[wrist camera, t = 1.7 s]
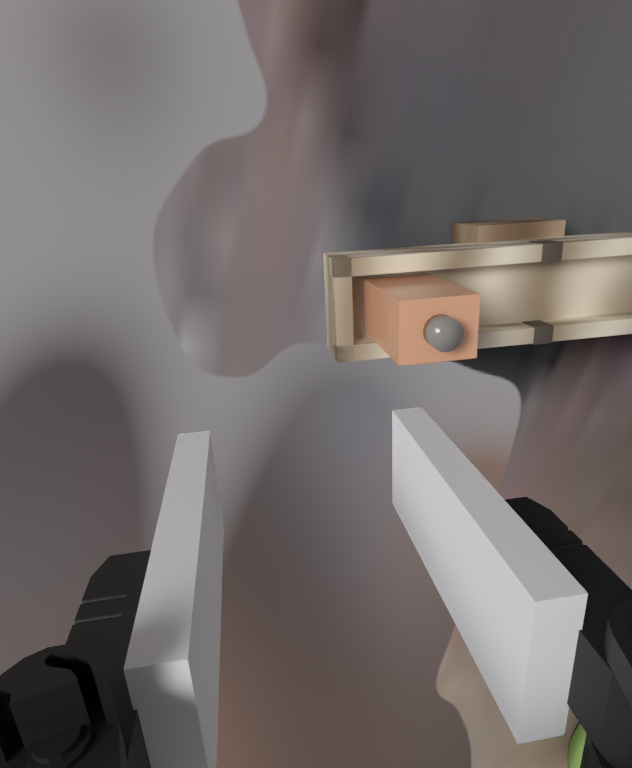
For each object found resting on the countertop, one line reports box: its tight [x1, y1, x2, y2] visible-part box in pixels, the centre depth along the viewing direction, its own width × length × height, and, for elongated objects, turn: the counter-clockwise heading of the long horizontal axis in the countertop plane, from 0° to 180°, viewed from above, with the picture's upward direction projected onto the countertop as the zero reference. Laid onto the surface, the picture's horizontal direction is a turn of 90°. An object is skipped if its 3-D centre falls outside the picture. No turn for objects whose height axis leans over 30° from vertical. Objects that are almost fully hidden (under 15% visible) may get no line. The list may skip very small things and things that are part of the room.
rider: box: [364, 274, 480, 366], centre depth 27 cm, size 4×3×8 cm
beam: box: [323, 218, 632, 363], centre depth 34 cm, size 26×8×8 cm, turn 93°
